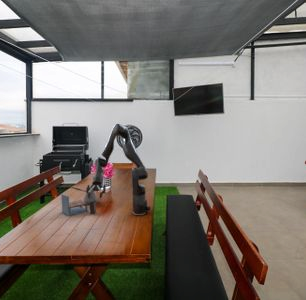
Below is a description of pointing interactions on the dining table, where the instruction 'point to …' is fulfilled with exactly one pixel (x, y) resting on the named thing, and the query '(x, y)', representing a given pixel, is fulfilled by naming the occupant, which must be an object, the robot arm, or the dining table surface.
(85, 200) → the coffee pot
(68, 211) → the grey u-shaped bracket
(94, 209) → the remote
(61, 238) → the dining table surface
